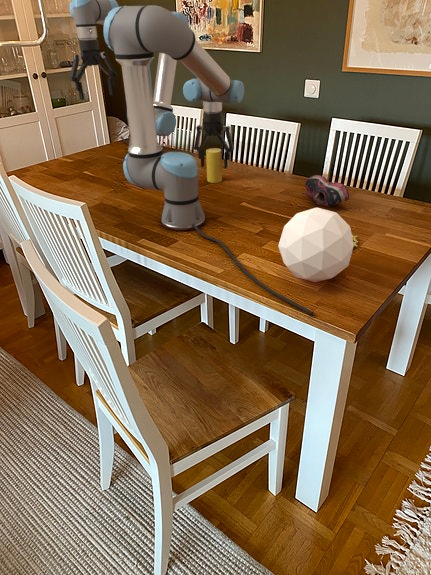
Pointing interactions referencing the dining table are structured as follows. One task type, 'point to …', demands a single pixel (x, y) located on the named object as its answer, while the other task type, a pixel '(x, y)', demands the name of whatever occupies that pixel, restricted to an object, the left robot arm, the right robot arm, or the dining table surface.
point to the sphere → (316, 244)
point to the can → (214, 165)
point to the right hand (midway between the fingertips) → (214, 166)
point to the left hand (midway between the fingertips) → (97, 97)
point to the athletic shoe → (326, 191)
